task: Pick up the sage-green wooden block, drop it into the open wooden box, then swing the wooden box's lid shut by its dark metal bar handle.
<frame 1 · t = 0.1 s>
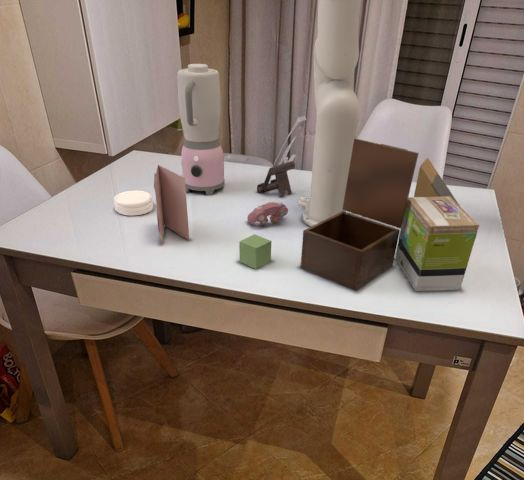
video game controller: (267, 223, 128), on the table
green block: (255, 261, 111), on the table
lid: (382, 181, 106), point 16 cm above the table, hinge at 95.0°
wooden box: (346, 267, 110), on the table
tea box: (425, 274, 108), on the table
blender: (202, 190, 147), on the table
tablet stand: (276, 192, 146), on the table
greeting card: (174, 235, 122), on the table
coaster: (134, 209, 134), on the table
sandwich container: (440, 224, 130), on the table
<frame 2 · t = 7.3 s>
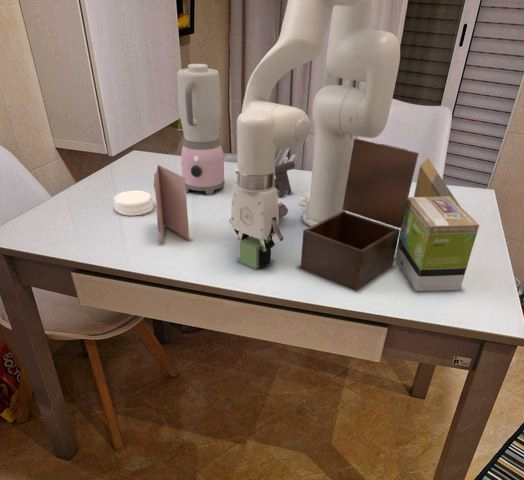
hand: (255, 259, 111), 0 cm above the table, tool pointing down, fingers closed on green block, 5 cm apart
green block: (255, 261, 111), on the table, touching gripper
everything else where it was.
when the fingers open (4 cm above the table, at t = 14.0 s): green block drops 3 cm, resting on wooden box.
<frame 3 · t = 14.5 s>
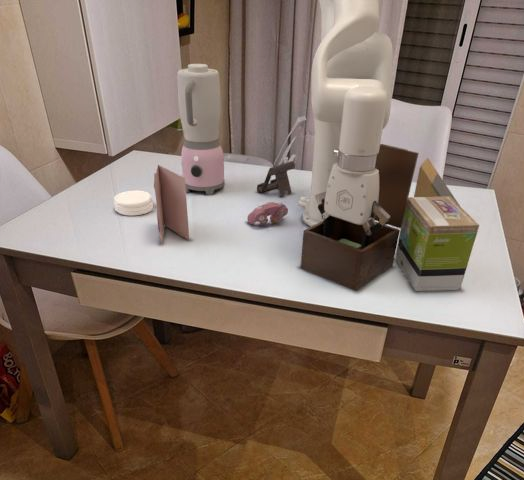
hand: (346, 243, 105), 6 cm above the table, tool pointing down, fingers open, 9 cm apart
green block: (343, 266, 108), point 1 cm above the table, touching wooden box
everything else where it was.
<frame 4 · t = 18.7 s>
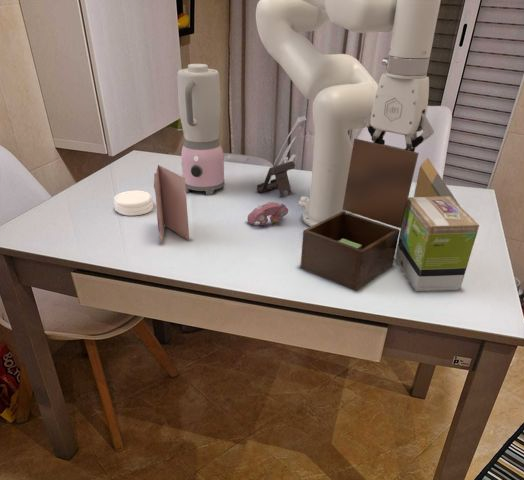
hand: (390, 163, 105), 20 cm above the table, tool pointing down, fingers closed on lid, 6 cm apart
lid: (382, 181, 106), point 16 cm above the table, hinge at 95.0°, touching gripper
everything else where it was.
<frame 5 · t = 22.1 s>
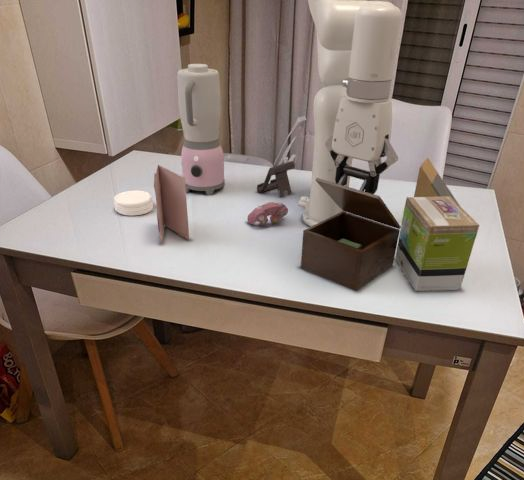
hand: (355, 189, 98), 18 cm above the table, tool pointing down, fingers closed on lid, 6 cm apart
lid: (364, 194, 102), point 16 cm above the table, hinge at 39.8°, touching gripper
everything else where it was.
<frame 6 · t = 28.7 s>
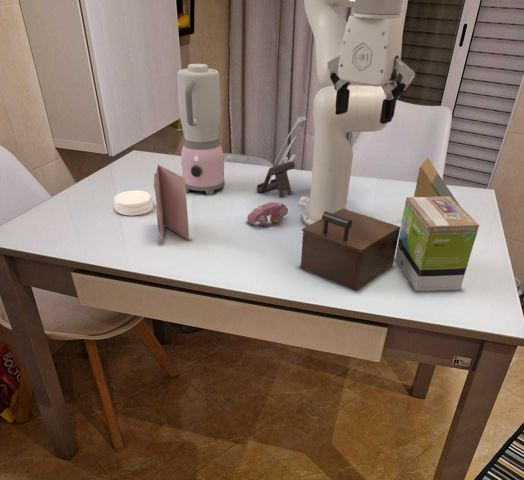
hand: (362, 117, 93), 30 cm above the table, tool pointing down, fingers open, 9 cm apart
lid: (352, 218, 103), point 11 cm above the table, hinge at -0.2°, touching wooden box
everything else where it was.
at the end: green block inside the target area in the wooden box (1.5 cm from its centre), point 0.8 cm above the wooden box's base; lid at +0° (first picture: +95°) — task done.
